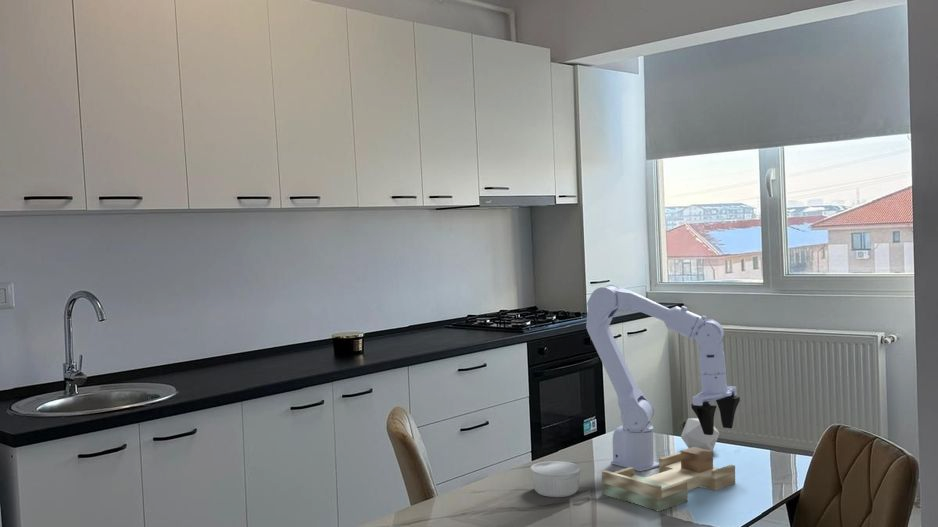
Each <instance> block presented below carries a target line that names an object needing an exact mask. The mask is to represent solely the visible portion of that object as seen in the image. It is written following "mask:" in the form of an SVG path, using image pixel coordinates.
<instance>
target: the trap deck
mask: <svg viewBox="0 0 938 527" xmlns="http://www.w3.org/2000/svg"><path fill="white" fill-rule="evenodd" d="M658 462H659V466H658V473H656V474H653V475H649V476H646V477H644V476H640V475H637V474H635V470H634V468H632V467H629V468H626V467H625V468H623V469H620V470H617V471H616V470H615V471H614V472H612V471H609V470H606V469H605V470H602V471H601V486H602V488H601V492H602V495H604V496H607V497H610V498H613V497H614V499H616V498H617V499H616V500H620V499H621V500H620V501H623V500H625V501H624V502H626V501H628V502H627V503H629V502H631V503H630V504H633V503H635V504H634V505H636V504H639V505H642V506H645V507H644V508H646V507H648V508H647V509H649V508H651V509H650V510H652V509H655V510H658V511H657V512H661V511H660V510H662V511H664V510H667V509H669V507H670V508H672V507H675V506H678V505H681V504H683V503H685V502H688V491H691V490H695V489H696V488H700V487H701V488H704V489H708V490H712V491H715V492H716V491H719V490H721V489H724V488H727V487H729V486H731V485H735V484H736V465H733V464H729V465H726V466H723V467H720V468H719V467H715V466H713V469H710V470H707V471H704V472H701V473H698V472H694V471H690V470H686V469H682V468H681V452H676V453H674V454H673V453H672V454H670V455H665V456H663V457H659V459H658ZM639 505H638V506H639ZM642 506H641V507H642ZM666 508H667V509H666ZM663 509H664V510H663ZM655 510H654V511H655Z"/></svg>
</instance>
